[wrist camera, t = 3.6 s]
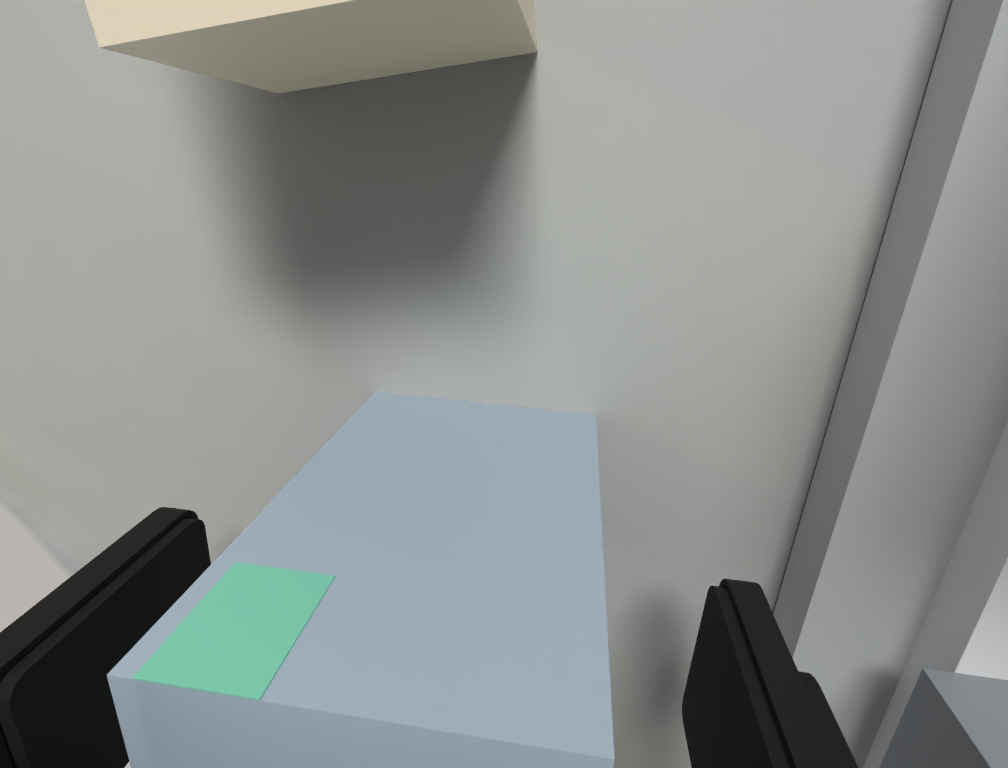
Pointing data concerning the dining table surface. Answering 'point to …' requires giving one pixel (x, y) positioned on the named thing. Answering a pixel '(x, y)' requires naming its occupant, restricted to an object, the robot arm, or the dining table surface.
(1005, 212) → the rail fixture
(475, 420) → the module
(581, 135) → the dining table surface
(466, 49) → the beige cube
